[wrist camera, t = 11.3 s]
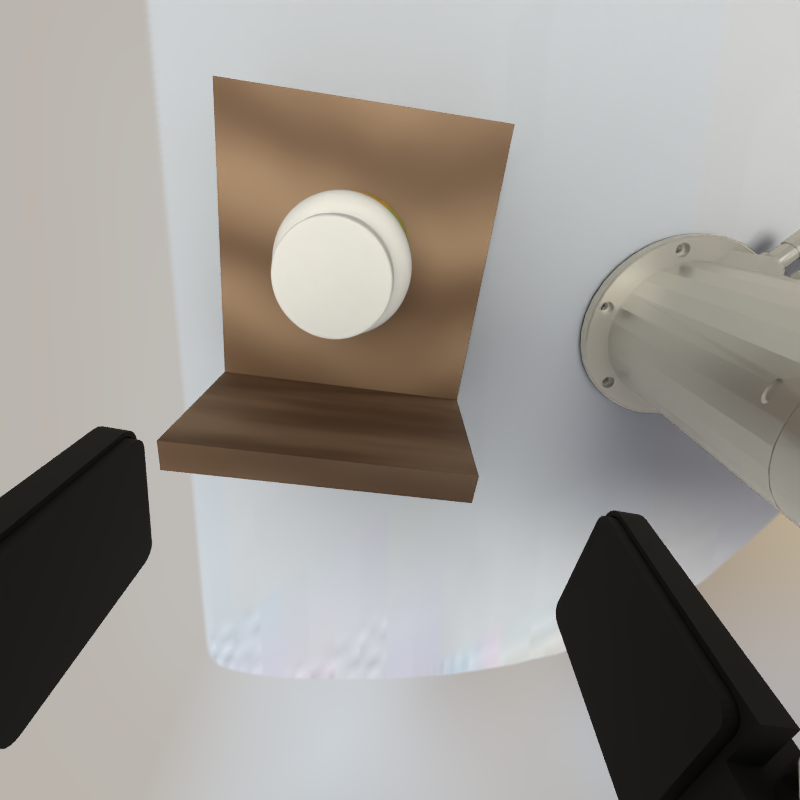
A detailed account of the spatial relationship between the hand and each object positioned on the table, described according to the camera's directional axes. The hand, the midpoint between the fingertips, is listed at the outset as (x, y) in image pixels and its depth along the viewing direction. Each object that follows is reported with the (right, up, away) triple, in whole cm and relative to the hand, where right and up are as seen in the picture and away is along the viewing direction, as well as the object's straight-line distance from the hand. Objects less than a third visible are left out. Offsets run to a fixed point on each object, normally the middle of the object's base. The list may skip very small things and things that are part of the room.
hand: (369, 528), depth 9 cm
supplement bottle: (-2, +11, +14) cm, 18 cm away
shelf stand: (-2, +12, +20) cm, 23 cm away
